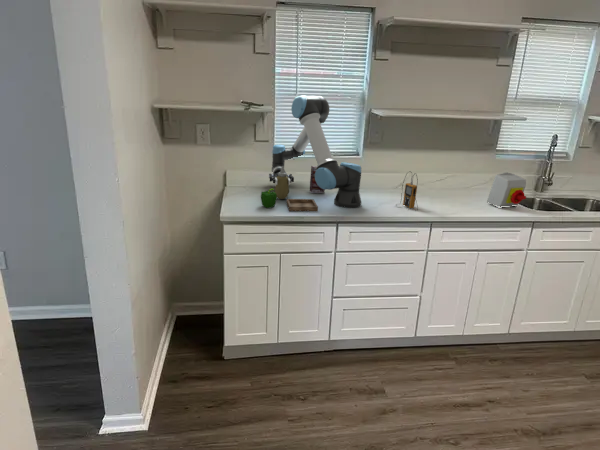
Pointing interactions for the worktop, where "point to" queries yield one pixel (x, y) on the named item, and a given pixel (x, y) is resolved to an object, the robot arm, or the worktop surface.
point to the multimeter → (410, 194)
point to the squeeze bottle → (282, 185)
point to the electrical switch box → (507, 190)
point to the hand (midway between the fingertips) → (283, 182)
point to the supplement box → (314, 182)
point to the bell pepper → (268, 198)
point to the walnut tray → (302, 205)
